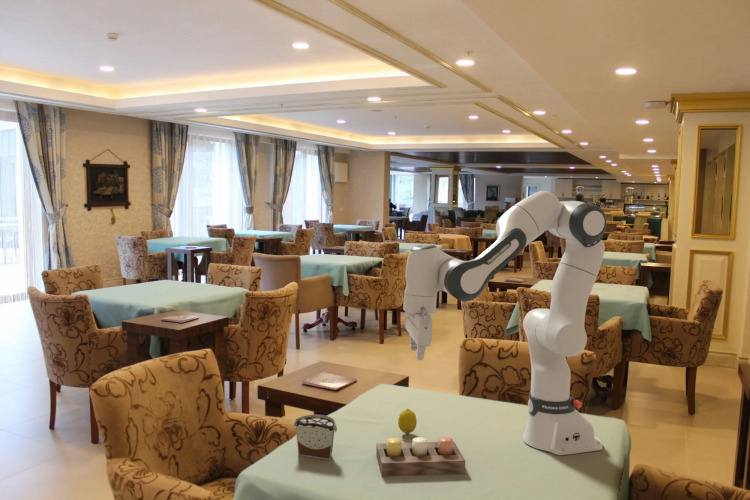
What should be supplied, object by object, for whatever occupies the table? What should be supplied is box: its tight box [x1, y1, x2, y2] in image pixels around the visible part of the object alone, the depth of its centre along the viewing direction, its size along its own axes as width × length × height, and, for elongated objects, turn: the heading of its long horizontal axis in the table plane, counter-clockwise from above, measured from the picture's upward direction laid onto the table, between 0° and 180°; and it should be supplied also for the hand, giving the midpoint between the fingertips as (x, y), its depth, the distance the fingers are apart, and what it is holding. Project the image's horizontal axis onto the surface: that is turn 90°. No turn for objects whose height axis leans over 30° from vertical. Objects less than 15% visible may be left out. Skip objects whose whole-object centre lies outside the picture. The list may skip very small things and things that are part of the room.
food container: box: [293, 414, 338, 461], centre depth 164 cm, size 12×6×10 cm, turn 74°
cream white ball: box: [411, 436, 428, 456], centre depth 159 cm, size 4×4×4 cm
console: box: [375, 441, 466, 477], centre depth 159 cm, size 22×12×4 cm, turn 96°
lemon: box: [397, 408, 418, 435], centre depth 178 cm, size 6×6×8 cm
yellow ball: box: [386, 437, 403, 457], centre depth 158 cm, size 4×4×4 cm
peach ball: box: [437, 436, 454, 455], centre depth 159 cm, size 4×4×4 cm
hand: (416, 354), depth 161 cm, fingers open, 8 cm apart
